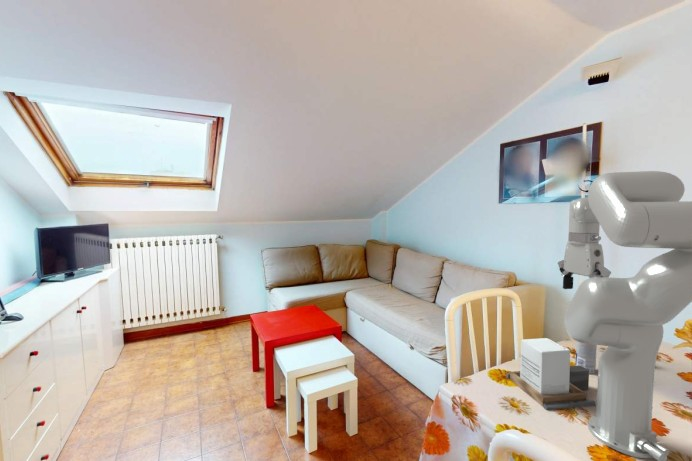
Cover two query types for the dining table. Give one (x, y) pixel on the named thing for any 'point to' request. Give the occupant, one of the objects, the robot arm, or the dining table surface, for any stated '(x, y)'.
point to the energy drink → (586, 356)
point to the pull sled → (576, 385)
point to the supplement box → (545, 366)
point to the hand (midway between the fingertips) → (580, 292)
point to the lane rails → (566, 402)
